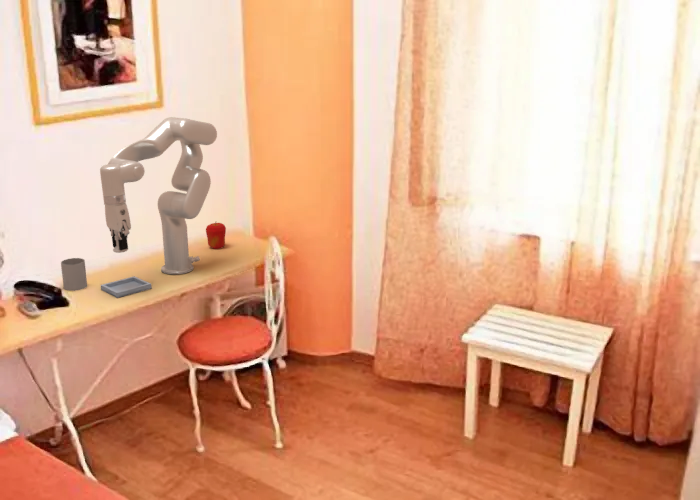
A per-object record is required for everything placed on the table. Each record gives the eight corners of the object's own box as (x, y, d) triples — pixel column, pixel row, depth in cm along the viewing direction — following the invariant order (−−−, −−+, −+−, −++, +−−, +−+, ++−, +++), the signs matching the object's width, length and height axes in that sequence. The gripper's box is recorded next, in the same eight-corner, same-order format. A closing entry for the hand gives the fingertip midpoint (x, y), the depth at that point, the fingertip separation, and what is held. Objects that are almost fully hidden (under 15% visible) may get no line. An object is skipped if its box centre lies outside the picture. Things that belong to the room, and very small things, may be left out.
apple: (218, 243, 356) (217, 217, 353) (230, 247, 351) (229, 220, 348) (202, 247, 350) (201, 221, 347) (215, 251, 345) (213, 224, 341)
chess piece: (131, 249, 297) (128, 225, 294) (122, 253, 292) (119, 229, 289) (119, 247, 298) (116, 224, 296) (110, 252, 294) (107, 228, 291)
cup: (79, 291, 298) (77, 265, 295) (59, 290, 300) (56, 264, 297) (91, 283, 306) (88, 258, 303) (71, 282, 308) (68, 257, 305)
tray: (134, 281, 309) (134, 276, 308) (151, 288, 301) (151, 283, 300) (101, 290, 300) (100, 284, 299) (117, 298, 292) (117, 292, 291)
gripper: (136, 201, 286) (141, 250, 292) (112, 193, 297) (118, 240, 303) (116, 205, 281) (123, 255, 287) (93, 197, 292) (99, 245, 298)
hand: (120, 247), depth 295 cm, fingers closed on chess piece, 3 cm apart
